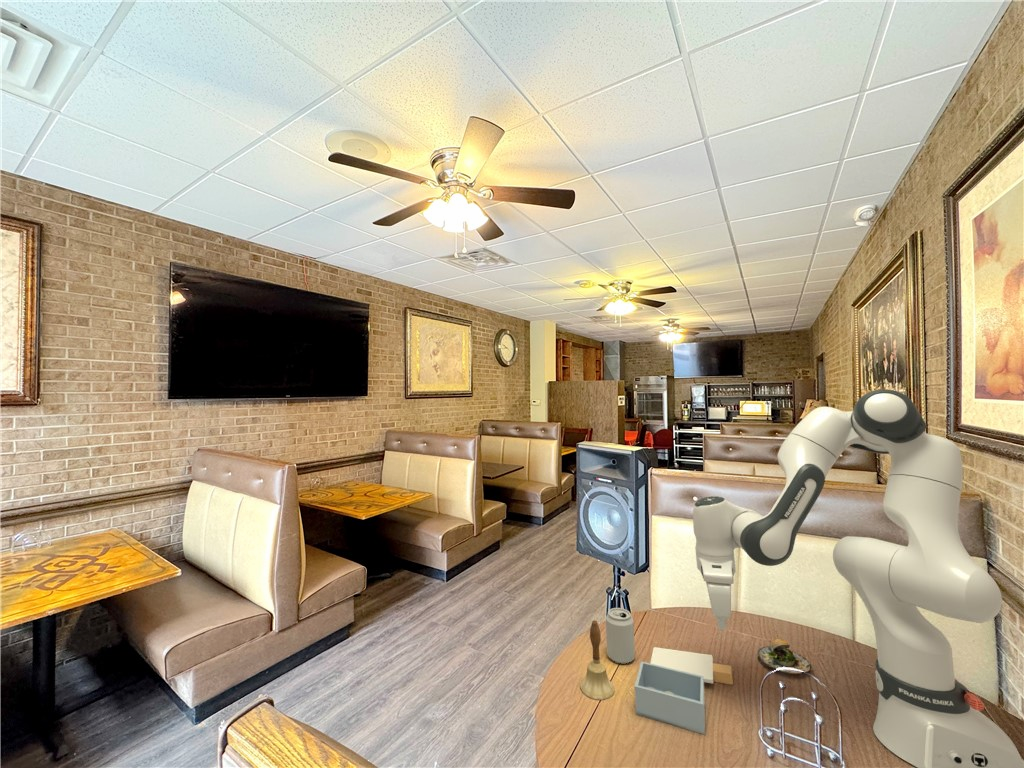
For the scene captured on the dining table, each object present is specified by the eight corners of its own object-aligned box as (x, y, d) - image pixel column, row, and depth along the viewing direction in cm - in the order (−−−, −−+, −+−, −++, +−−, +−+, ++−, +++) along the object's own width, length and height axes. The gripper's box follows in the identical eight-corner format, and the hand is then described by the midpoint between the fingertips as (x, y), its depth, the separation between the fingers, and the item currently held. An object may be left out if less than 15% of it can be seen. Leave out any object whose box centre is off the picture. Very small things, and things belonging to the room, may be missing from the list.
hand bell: (617, 701, 95) (614, 630, 96) (581, 699, 95) (579, 629, 97) (611, 678, 103) (609, 613, 104) (579, 676, 104) (577, 612, 105)
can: (636, 667, 107) (634, 620, 108) (607, 664, 108) (605, 618, 109) (633, 650, 114) (632, 607, 115) (606, 648, 116) (605, 605, 117)
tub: (704, 703, 93) (703, 676, 94) (704, 734, 84) (703, 704, 85) (642, 686, 99) (641, 661, 100) (635, 714, 90) (634, 686, 91)
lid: (731, 667, 105) (730, 657, 106) (734, 694, 96) (732, 683, 96) (655, 656, 114) (653, 647, 114) (650, 680, 104) (648, 669, 104)
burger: (760, 673, 104) (758, 643, 105) (755, 648, 115) (753, 621, 115) (817, 685, 99) (815, 653, 99) (806, 658, 110) (804, 630, 110)
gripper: (700, 547, 113) (705, 598, 112) (703, 577, 94) (709, 638, 94) (725, 549, 111) (730, 601, 110) (733, 580, 92) (739, 642, 91)
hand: (720, 618), depth 102 cm, fingers open, 8 cm apart
